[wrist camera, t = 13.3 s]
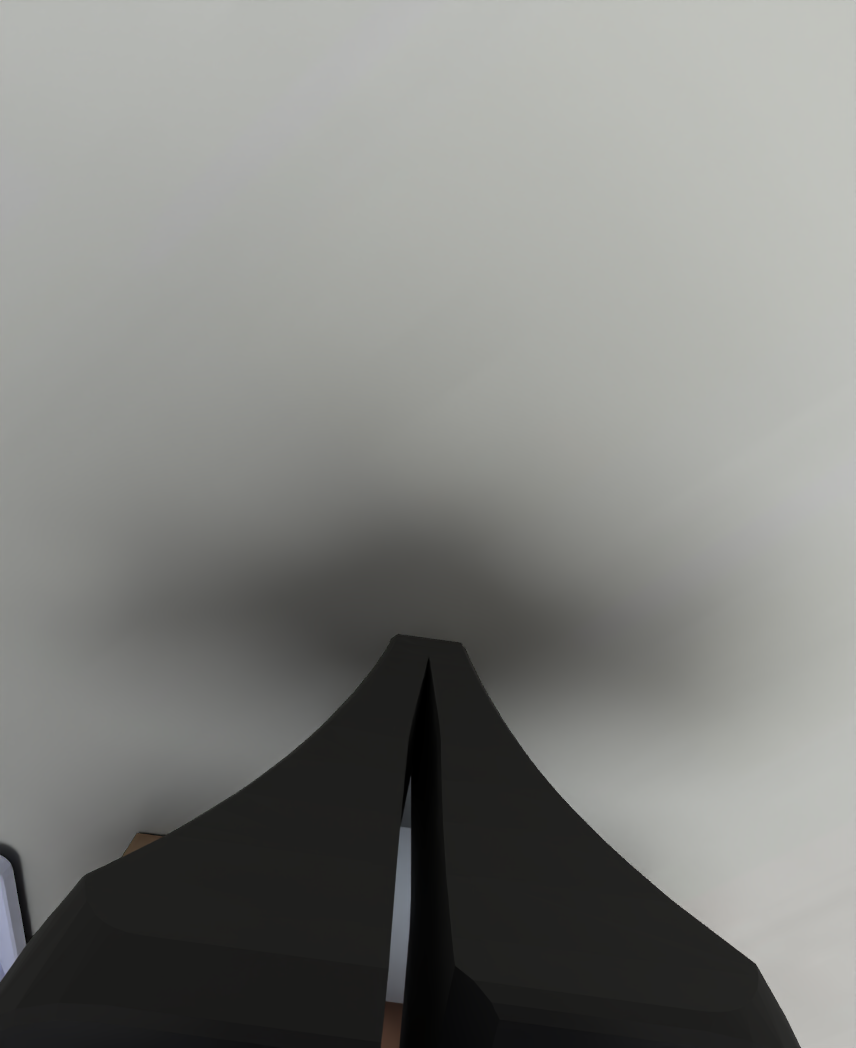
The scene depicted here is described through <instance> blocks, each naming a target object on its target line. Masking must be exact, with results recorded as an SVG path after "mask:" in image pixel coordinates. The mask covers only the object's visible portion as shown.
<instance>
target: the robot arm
mask: <svg viewBox="0 0 856 1048" xmlns="http://www.w3.org/2000/svg"><path fill="white" fill-rule="evenodd" d="M410 778H411V903H410V928H409V940H408V951H407V963H406V975H405V987H404V998H403V1010H402V1021H401V1032H400V1044H399V1048H801V1047H800V1045H799V1043H798V1041H797V1039H796V1037H795V1035H794V1033H793V1031H792V1029H791V1027H790V1025H789V1023H788V1020H787V1018H786V1016H785V1015H784V1013H783V1011H782V1009H781V1008H780V1006H779V1004H778V1002H777V1001H776V999H775V997H774V995H773V994H772V992H771V990H770V988H769V986H768V985H767V983H766V981H765V979H764V978H763V976H762V974H761V972H760V970H759V969H758V967H757V965H756V964H755V963H754V962H752V961H751V960H750V959H749V958H747V957H746V956H745V955H743V954H742V953H741V952H739V951H738V950H737V949H735V948H734V947H733V946H731V945H730V944H729V943H727V942H726V941H725V940H723V939H722V938H721V937H720V936H718V935H717V934H716V933H714V932H713V931H712V930H710V929H709V928H708V927H706V926H705V925H704V924H702V923H701V922H700V921H698V920H697V919H696V918H695V917H693V916H692V915H691V914H689V913H688V912H687V911H685V910H684V909H683V908H681V907H680V906H679V905H677V904H676V903H675V902H674V901H672V900H671V899H670V898H669V897H668V896H666V895H665V894H664V893H663V892H662V891H660V890H659V889H658V888H657V887H656V886H655V885H653V884H652V883H651V882H650V881H649V880H648V879H646V878H645V877H644V876H643V875H642V874H641V873H640V872H638V871H637V870H636V869H635V868H634V867H633V866H631V865H630V864H629V863H628V862H627V861H626V860H625V859H624V858H622V857H621V856H620V855H619V854H618V853H617V852H616V851H615V850H614V849H613V848H612V847H611V846H609V845H608V844H607V843H606V842H605V841H604V840H603V839H602V838H601V837H600V836H599V835H598V834H597V833H596V832H595V831H594V830H593V829H592V828H591V827H590V826H589V825H588V824H587V823H586V822H585V821H584V820H583V819H582V818H581V817H580V816H579V815H578V814H577V813H576V812H575V811H574V810H573V809H572V808H571V807H570V806H569V804H568V803H567V802H566V801H565V800H564V799H563V798H562V797H561V796H560V795H559V794H558V792H557V791H556V790H555V789H554V788H553V787H552V785H551V784H550V783H549V782H548V781H547V779H546V778H545V777H544V776H543V775H542V773H541V772H540V771H539V770H538V769H537V767H536V766H535V765H534V763H533V762H532V761H531V759H530V758H529V757H528V755H527V754H526V753H525V751H524V750H523V749H522V747H521V746H520V744H519V743H518V741H517V740H516V738H515V737H514V736H513V734H512V733H511V731H510V730H509V728H508V727H507V725H506V724H505V722H504V720H503V719H502V717H501V716H500V714H499V712H498V711H497V709H496V707H495V706H494V704H493V702H492V701H491V699H490V697H489V696H488V694H487V692H486V690H485V688H484V687H483V685H482V683H481V681H480V679H479V677H478V675H477V673H476V671H475V669H474V667H473V665H472V663H471V661H470V658H469V656H468V654H467V651H466V649H465V648H464V646H463V645H462V644H461V643H459V642H452V641H444V640H437V639H430V638H422V637H415V636H408V635H400V634H398V635H396V636H395V637H393V638H392V639H391V641H390V643H389V645H388V647H387V649H386V650H385V652H384V654H383V655H382V657H381V658H380V660H379V661H378V662H377V664H376V665H375V667H374V668H373V669H372V671H371V672H370V673H369V674H368V676H367V677H366V678H365V679H364V680H363V682H362V683H361V684H360V685H359V687H358V688H357V689H356V690H355V691H354V693H353V694H352V695H351V696H350V697H349V698H348V699H347V700H346V701H345V702H344V703H343V704H342V705H341V707H340V708H339V709H338V710H337V711H336V712H335V713H334V714H333V715H332V716H331V717H330V718H329V719H328V720H327V721H326V722H325V723H324V724H323V725H322V726H321V727H320V728H319V729H318V730H317V731H316V732H314V733H313V734H312V735H311V736H310V737H309V738H308V739H307V740H305V741H304V742H303V743H302V744H301V745H300V746H298V747H297V748H296V749H295V750H294V751H293V752H291V753H290V754H289V755H288V756H286V757H285V758H284V759H282V760H281V761H280V762H279V763H277V764H276V765H275V766H273V767H272V768H271V769H269V770H268V771H267V772H265V773H264V774H263V775H261V776H260V777H259V778H257V779H256V780H255V781H253V782H252V783H250V784H249V785H247V786H246V787H245V788H243V789H242V790H240V791H239V792H237V793H236V794H234V795H232V796H231V797H229V798H228V799H226V800H224V801H223V802H221V803H220V804H218V805H216V806H215V807H213V808H212V809H210V810H208V811H207V812H205V813H203V814H202V815H200V816H199V817H197V818H195V819H194V820H192V821H191V822H189V823H187V824H185V825H184V826H182V827H180V828H178V829H176V830H175V831H173V832H171V833H169V834H167V835H165V836H163V837H161V838H159V839H157V840H155V841H153V842H151V843H149V844H147V845H145V846H143V847H141V848H139V849H137V850H135V851H133V852H131V853H129V854H127V855H125V856H123V857H121V858H119V859H117V860H115V861H113V862H111V863H109V864H107V865H105V866H103V867H101V868H99V869H97V870H95V871H92V872H90V873H88V874H86V875H84V876H83V877H82V879H81V880H80V881H79V882H78V883H77V885H76V886H75V887H74V888H73V889H72V891H71V892H70V893H69V894H68V895H67V897H66V898H65V899H64V900H63V901H62V903H61V904H60V905H59V906H58V907H57V908H56V910H55V911H54V912H53V913H52V914H51V915H50V916H49V917H48V919H47V920H46V921H45V922H44V924H43V925H42V926H41V927H40V929H39V930H38V931H37V932H36V934H35V935H34V936H33V937H32V938H31V940H30V941H29V942H28V944H27V945H26V941H25V935H24V929H23V923H22V918H21V912H20V906H19V901H18V895H17V889H16V884H15V878H14V872H13V868H12V865H11V863H10V862H9V861H8V860H7V859H6V858H5V857H3V856H1V855H0V1048H381V1041H382V1031H383V1022H384V1012H385V1002H386V992H387V982H388V972H389V960H390V946H391V932H392V920H393V907H394V895H395V882H396V869H397V858H398V846H399V835H400V827H401V822H402V817H403V812H404V807H405V802H406V797H407V793H408V788H409V783H410Z"/></svg>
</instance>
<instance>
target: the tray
mask: <svg viewBox="0 0 856 1048" xmlns="http://www.w3.org/2000/svg"><path fill="white" fill-rule="evenodd" d="M410 903H411V778H410V783H409V788H408V793H407V797H406V802H405V807H404V812H403V817H402V822H401V827H400V835H399V846H398V858H397V869H396V882H395V895H394V907H393V920H392V932H391V946H390V960H389V972H388V982H387V992H386V1001H387V1002H395V1003H403V998H404V987H405V975H406V963H407V951H408V940H409V928H410Z"/></svg>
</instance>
